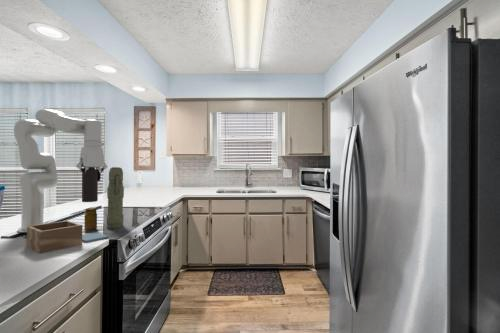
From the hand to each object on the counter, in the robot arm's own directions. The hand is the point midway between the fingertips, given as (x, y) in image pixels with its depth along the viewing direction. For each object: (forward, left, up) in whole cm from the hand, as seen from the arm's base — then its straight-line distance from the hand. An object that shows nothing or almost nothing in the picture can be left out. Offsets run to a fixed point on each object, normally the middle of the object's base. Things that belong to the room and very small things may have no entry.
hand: (91, 180), depth 139 cm
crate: (0, -16, -29) cm, 33 cm away
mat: (0, 0, -29) cm, 29 cm away
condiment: (-16, +8, -29) cm, 34 cm away
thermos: (-14, +20, -29) cm, 38 cm away
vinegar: (+1, -1, -10) cm, 10 cm away
